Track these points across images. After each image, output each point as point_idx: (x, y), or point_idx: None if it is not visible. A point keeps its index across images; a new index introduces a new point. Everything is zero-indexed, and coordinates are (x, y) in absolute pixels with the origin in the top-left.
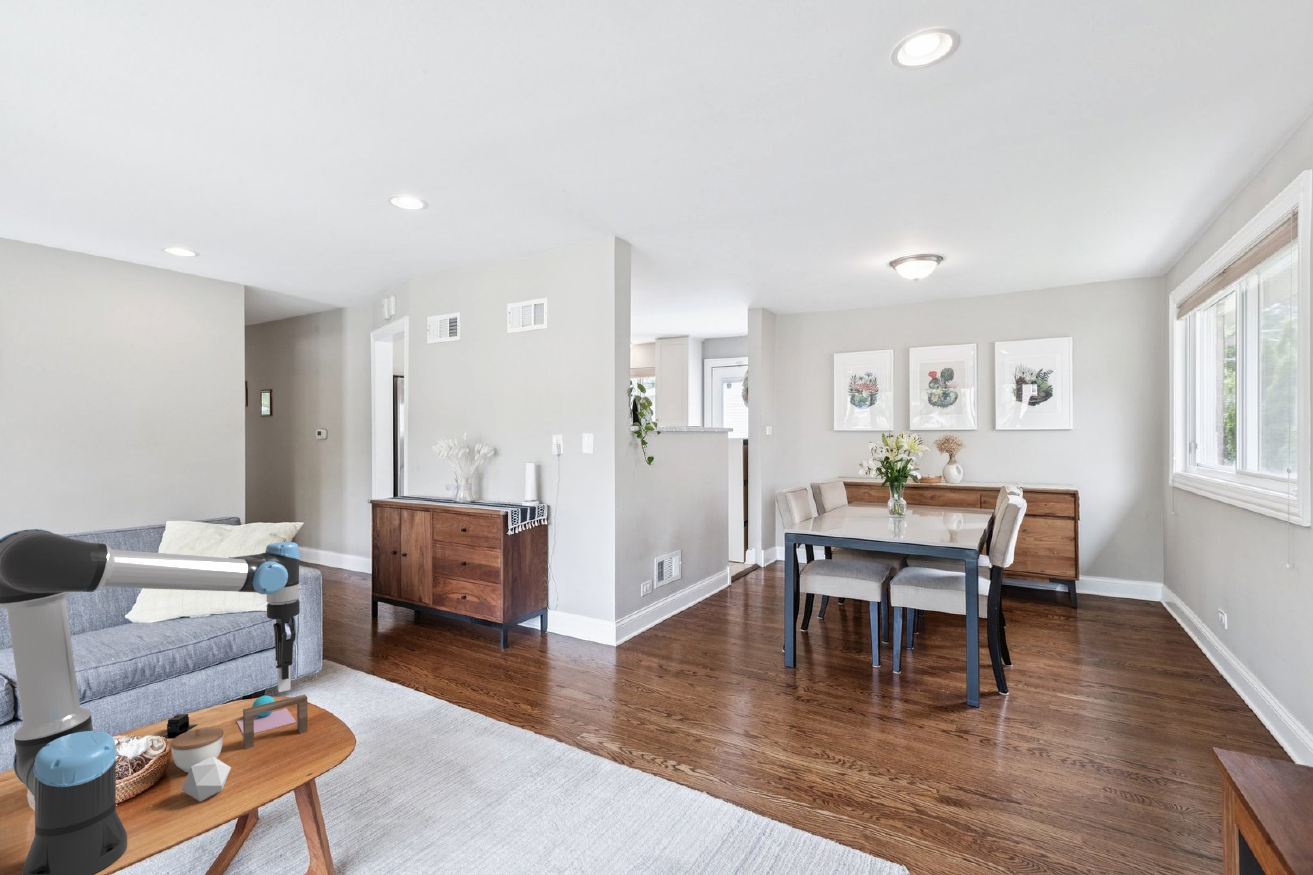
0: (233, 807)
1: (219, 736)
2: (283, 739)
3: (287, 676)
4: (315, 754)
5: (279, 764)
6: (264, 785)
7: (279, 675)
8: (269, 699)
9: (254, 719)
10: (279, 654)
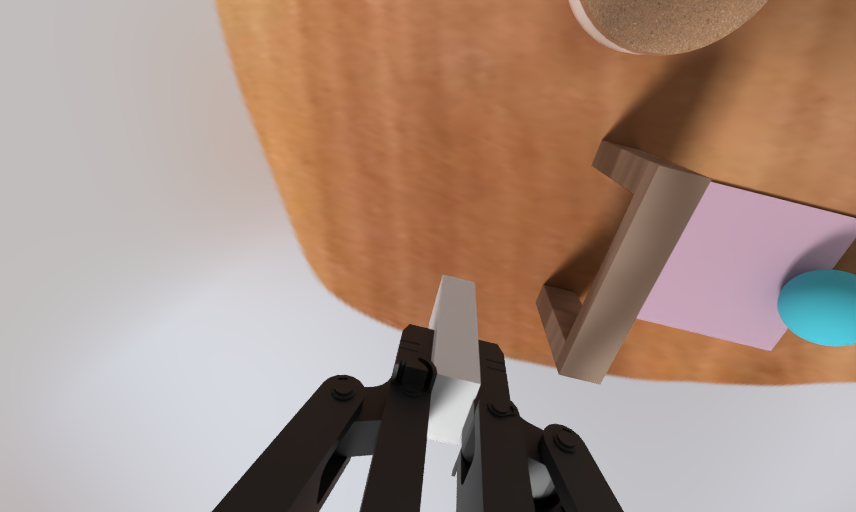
0: None
1: (589, 12)
2: (550, 240)
3: (396, 356)
4: (364, 242)
5: (386, 154)
6: (281, 63)
7: (435, 334)
8: (820, 330)
9: (805, 259)
10: (410, 481)
